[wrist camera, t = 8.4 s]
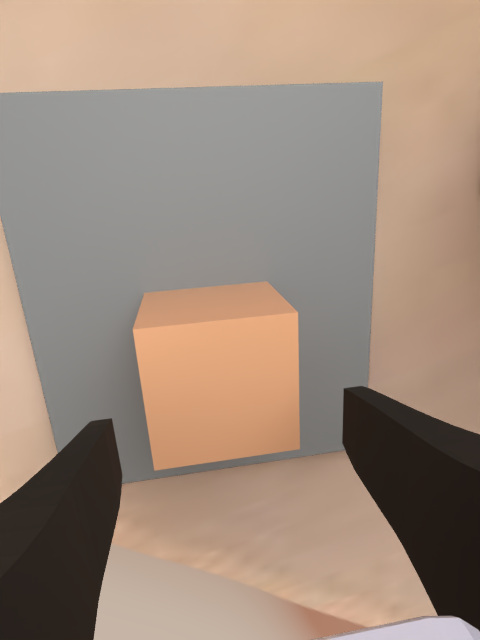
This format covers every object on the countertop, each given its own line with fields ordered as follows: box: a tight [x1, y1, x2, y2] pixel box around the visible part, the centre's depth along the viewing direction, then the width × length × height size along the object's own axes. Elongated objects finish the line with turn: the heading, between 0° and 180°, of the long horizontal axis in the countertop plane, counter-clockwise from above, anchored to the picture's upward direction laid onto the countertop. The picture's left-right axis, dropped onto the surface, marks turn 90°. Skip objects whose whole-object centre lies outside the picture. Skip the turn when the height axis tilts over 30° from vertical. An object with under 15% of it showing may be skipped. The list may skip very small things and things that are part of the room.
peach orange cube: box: [133, 281, 300, 471], centre depth 17 cm, size 6×6×5 cm
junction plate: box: [0, 82, 383, 484], centre depth 17 cm, size 16×18×5 cm
